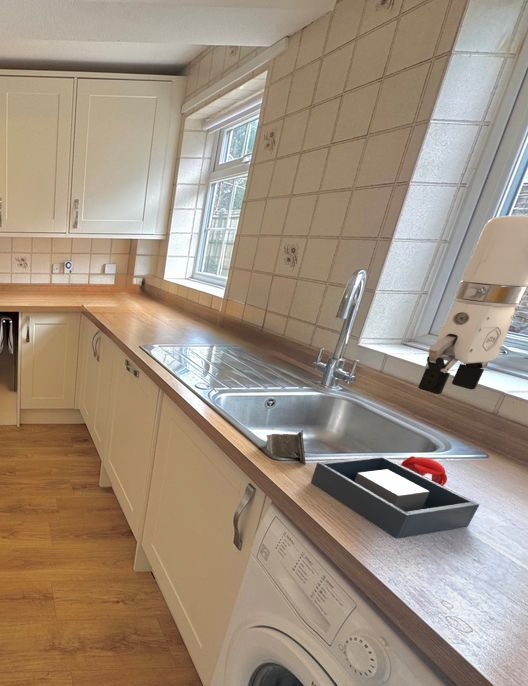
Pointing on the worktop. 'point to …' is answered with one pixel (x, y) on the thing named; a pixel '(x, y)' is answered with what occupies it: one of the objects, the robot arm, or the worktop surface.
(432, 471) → the red curved piece
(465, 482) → the worktop surface
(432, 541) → the worktop surface
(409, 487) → the block
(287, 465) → the worktop surface
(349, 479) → the dark grey tray
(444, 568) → the worktop surface
